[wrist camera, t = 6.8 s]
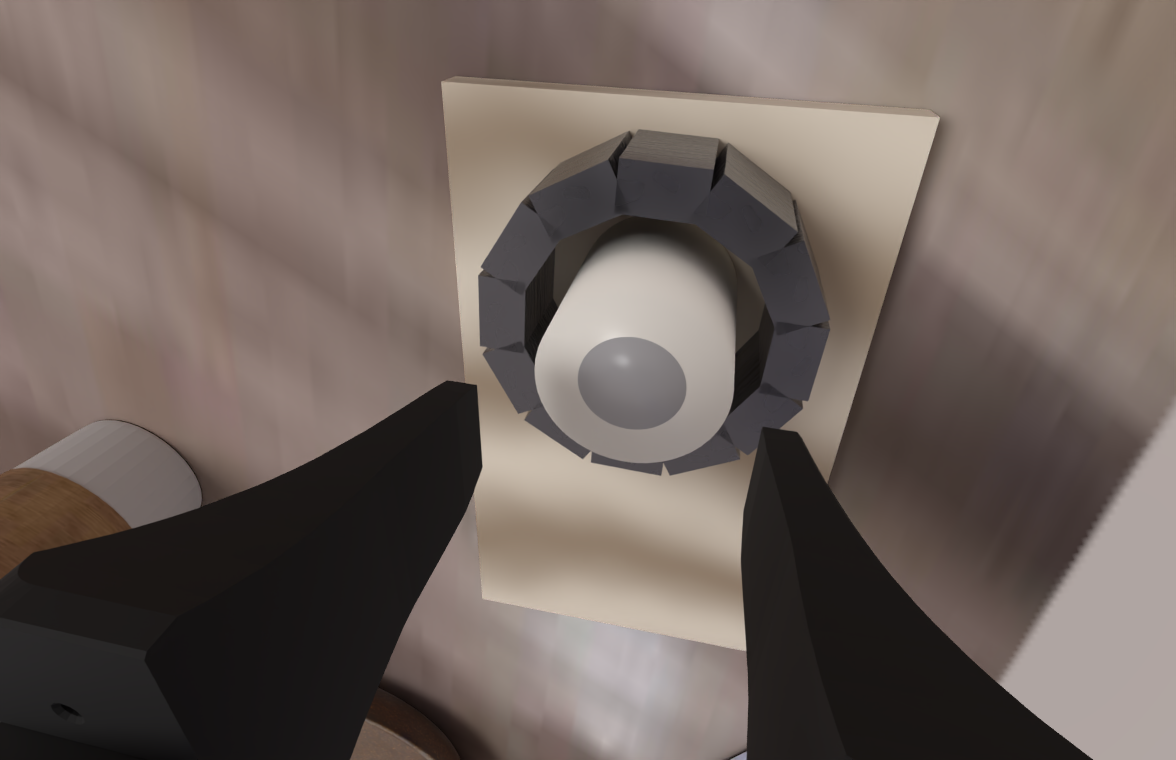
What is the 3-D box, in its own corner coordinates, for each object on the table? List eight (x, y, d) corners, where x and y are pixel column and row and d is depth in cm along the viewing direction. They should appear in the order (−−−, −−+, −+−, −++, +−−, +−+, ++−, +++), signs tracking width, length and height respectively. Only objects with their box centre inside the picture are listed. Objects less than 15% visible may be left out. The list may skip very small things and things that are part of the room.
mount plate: (773, 635, 26) (774, 656, 26) (490, 580, 28) (482, 598, 27) (929, 109, 16) (940, 117, 15) (455, 76, 17) (441, 81, 17)
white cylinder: (671, 382, 20) (651, 492, 16) (553, 299, 19) (500, 392, 15) (771, 278, 18) (778, 377, 13) (640, 179, 17) (605, 251, 13)
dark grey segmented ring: (681, 455, 21) (672, 519, 19) (465, 306, 20) (425, 354, 18) (884, 267, 17) (909, 319, 14) (623, 58, 16) (600, 75, 13)
